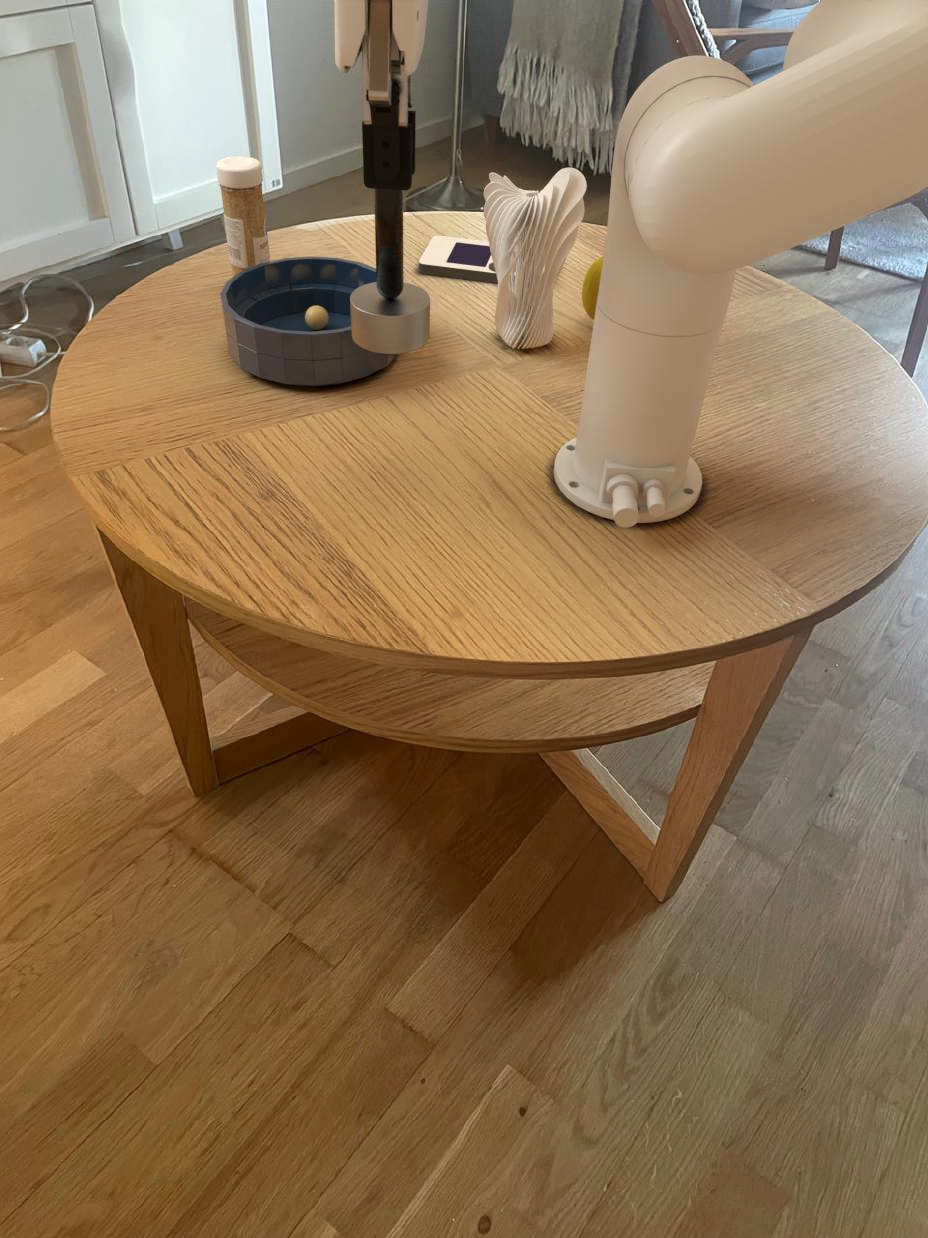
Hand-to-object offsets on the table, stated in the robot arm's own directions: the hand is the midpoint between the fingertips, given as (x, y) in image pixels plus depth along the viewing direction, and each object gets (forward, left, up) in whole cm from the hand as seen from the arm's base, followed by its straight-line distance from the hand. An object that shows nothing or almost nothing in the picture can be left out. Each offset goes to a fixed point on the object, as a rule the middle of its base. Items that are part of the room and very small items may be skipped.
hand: (390, 178), depth 63 cm
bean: (+23, +10, -22) cm, 33 cm away
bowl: (+20, +10, -24) cm, 33 cm away
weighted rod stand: (0, 0, -12) cm, 12 cm away
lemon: (+29, -20, -24) cm, 43 cm away
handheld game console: (+43, -7, -24) cm, 50 cm away
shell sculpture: (+24, -11, -24) cm, 36 cm away
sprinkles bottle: (+33, +19, -24) cm, 45 cm away
